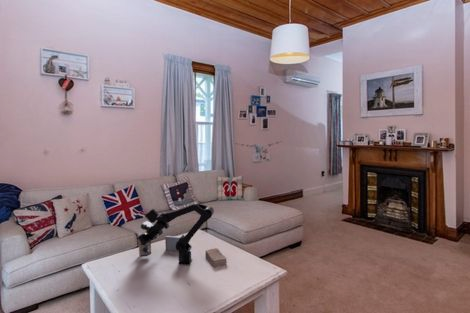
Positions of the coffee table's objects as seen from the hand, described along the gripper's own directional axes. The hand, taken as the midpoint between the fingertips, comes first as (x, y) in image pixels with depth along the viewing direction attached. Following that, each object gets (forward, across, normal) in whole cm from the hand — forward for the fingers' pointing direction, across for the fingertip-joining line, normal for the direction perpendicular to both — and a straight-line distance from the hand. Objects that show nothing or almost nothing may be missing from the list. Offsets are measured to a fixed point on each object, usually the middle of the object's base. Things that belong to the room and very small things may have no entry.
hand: (143, 243), depth 175 cm
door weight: (+4, 0, +6) cm, 7 cm away
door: (+10, -8, +3) cm, 13 cm away
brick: (-24, -10, +39) cm, 47 cm away
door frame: (+3, -16, +11) cm, 19 cm away
